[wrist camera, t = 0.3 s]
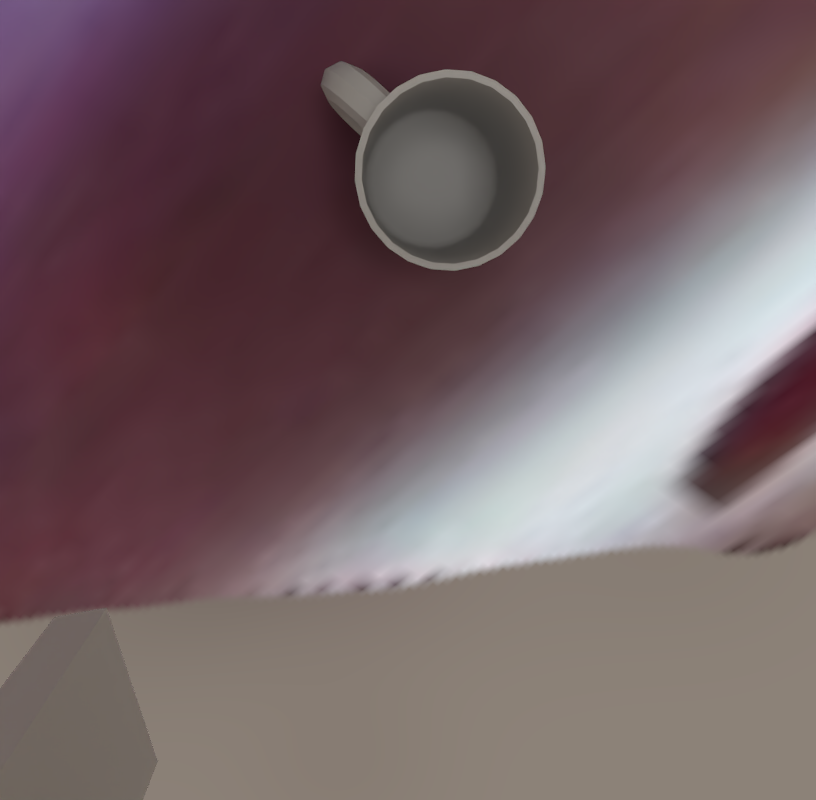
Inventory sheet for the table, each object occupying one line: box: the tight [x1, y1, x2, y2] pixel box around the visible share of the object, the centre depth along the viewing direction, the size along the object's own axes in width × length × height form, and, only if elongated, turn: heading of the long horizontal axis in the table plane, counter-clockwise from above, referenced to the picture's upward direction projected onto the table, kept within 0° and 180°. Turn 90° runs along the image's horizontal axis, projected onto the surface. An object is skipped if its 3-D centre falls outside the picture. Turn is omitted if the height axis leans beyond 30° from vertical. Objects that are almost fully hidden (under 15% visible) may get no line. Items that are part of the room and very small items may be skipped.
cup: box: [321, 61, 546, 271], centre depth 30 cm, size 7×10×9 cm
